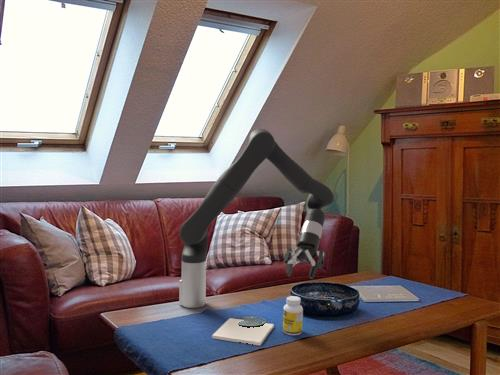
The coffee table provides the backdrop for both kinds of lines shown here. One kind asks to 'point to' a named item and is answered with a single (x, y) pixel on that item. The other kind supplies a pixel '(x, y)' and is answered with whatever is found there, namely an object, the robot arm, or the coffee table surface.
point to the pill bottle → (292, 316)
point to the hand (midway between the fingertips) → (299, 276)
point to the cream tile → (242, 332)
